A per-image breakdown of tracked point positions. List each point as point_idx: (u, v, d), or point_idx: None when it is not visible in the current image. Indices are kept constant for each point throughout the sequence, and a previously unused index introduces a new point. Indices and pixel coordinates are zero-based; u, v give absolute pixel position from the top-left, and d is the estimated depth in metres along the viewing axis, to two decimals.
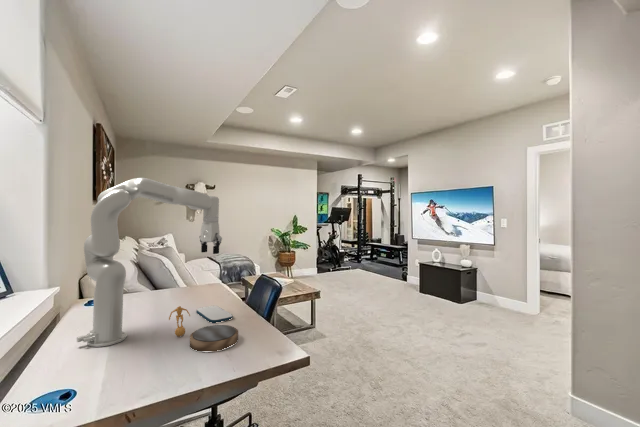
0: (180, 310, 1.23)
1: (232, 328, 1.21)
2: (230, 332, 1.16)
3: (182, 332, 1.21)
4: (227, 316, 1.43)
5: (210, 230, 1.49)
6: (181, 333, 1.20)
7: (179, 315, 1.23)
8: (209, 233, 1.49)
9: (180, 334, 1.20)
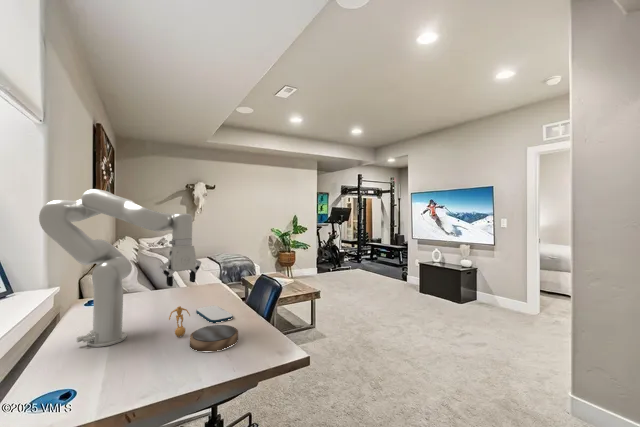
0: (180, 310, 1.23)
1: (232, 328, 1.21)
2: (230, 332, 1.16)
3: (182, 332, 1.21)
4: (227, 316, 1.43)
5: (193, 255, 1.25)
6: (181, 333, 1.20)
7: (179, 315, 1.23)
8: (192, 259, 1.24)
9: (180, 334, 1.20)
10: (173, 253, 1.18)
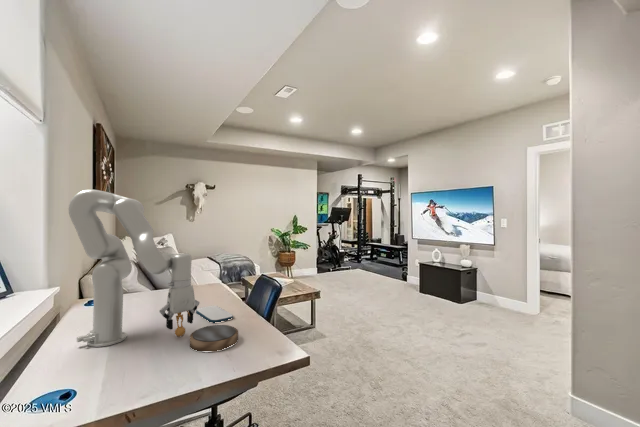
0: None
1: (232, 328, 1.21)
2: (230, 332, 1.16)
3: (182, 332, 1.21)
4: (227, 316, 1.43)
5: (192, 295, 1.25)
6: (181, 333, 1.20)
7: (179, 315, 1.23)
8: (190, 299, 1.24)
9: (180, 334, 1.20)
10: (172, 295, 1.18)
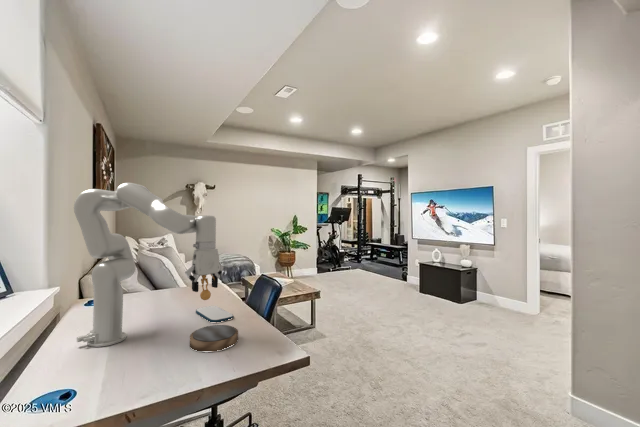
0: None
1: (232, 328, 1.21)
2: (230, 332, 1.16)
3: (208, 295, 1.17)
4: (227, 316, 1.43)
5: (217, 258, 1.21)
6: (207, 296, 1.17)
7: (204, 279, 1.19)
8: (215, 262, 1.20)
9: (206, 297, 1.17)
10: (197, 257, 1.14)
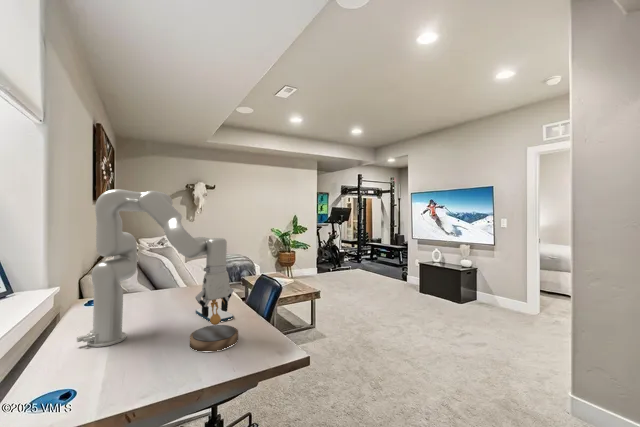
0: None
1: (232, 328, 1.21)
2: (230, 332, 1.16)
3: (218, 320, 1.15)
4: (228, 316, 1.43)
5: (227, 282, 1.19)
6: (217, 321, 1.15)
7: (214, 303, 1.17)
8: (226, 286, 1.18)
9: (216, 322, 1.14)
10: (208, 281, 1.12)
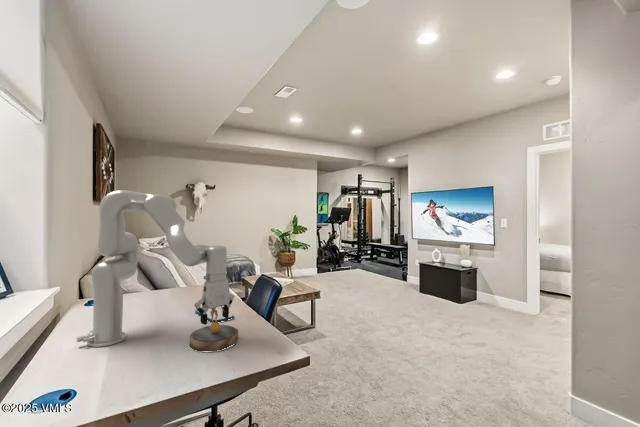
0: None
1: (232, 328, 1.21)
2: (230, 332, 1.16)
3: (217, 328, 1.15)
4: (228, 316, 1.43)
5: (227, 289, 1.19)
6: (216, 329, 1.15)
7: (213, 311, 1.17)
8: (226, 294, 1.18)
9: (215, 330, 1.14)
10: (208, 289, 1.12)
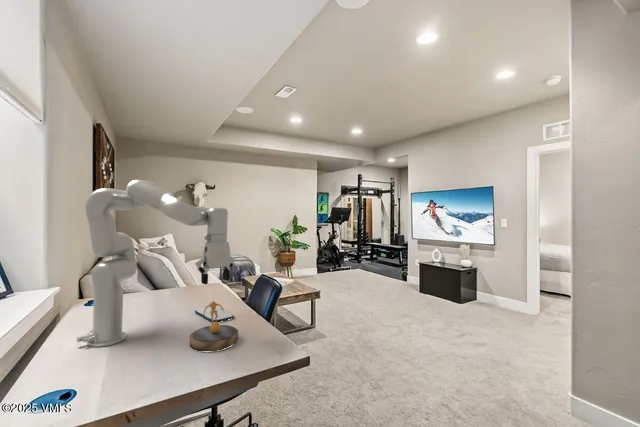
0: (214, 305, 1.18)
1: (232, 328, 1.21)
2: (230, 332, 1.16)
3: (217, 328, 1.15)
4: (228, 316, 1.43)
5: (228, 252, 1.19)
6: (216, 329, 1.15)
7: (213, 311, 1.17)
8: (226, 255, 1.18)
9: (215, 330, 1.14)
10: (209, 249, 1.13)
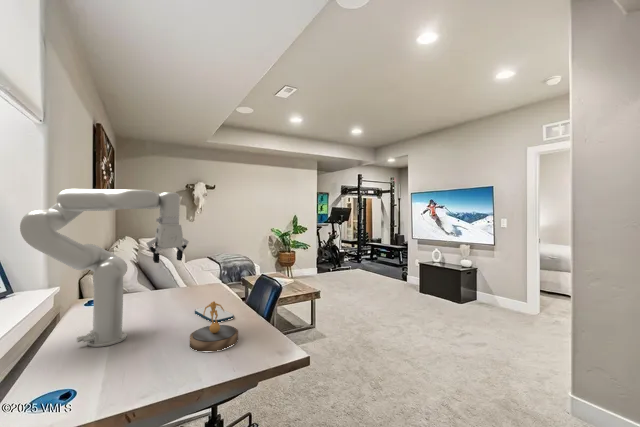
0: (214, 305, 1.18)
1: (232, 328, 1.21)
2: (230, 332, 1.16)
3: (217, 328, 1.15)
4: (228, 316, 1.43)
5: (180, 233, 1.27)
6: (216, 329, 1.15)
7: (213, 311, 1.17)
8: (178, 237, 1.27)
9: (215, 330, 1.14)
10: (160, 230, 1.21)
